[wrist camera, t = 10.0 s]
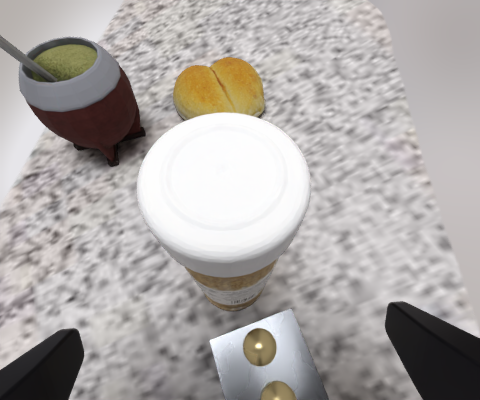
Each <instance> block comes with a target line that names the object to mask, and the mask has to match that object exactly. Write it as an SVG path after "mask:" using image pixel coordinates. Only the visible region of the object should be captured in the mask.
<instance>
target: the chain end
mask: <svg viewBox="0 0 480 400" xmlns="http://www.w3.org/2000/svg"><path fill="white" fill-rule="evenodd" d="M210 344H211V348H212V351H213V355H214V359H215V363H216V367H217V371H218V375H219V378H220V382H221V386H222V390H223V394H224V398H225V400H329V398H328V396H327V393H326V391H325V389H324V386H323V384H322V381H321V379H320V376H319V374H318V372H317V369H316V367H315V364H314V362H313V359H312V357H311V355H310V352H309V350H308V347H307V345H306V342H305V340H304V338H303V335H302V333H301V330H300V328H299V325H298V323H297V321H296V318H295V316H294V313H293V311H292V308H290V309H288V310H285V311H283V312H280V313H278V314H275V315H273V316H270V317H267V318H265V319H262V320H260V321H257V322H255V323H252V324H250V325H247V326H245V327H242V328H240V329H237V330H234V331H232V332H229V333H227V334H224V335H222V336H219V337H217V338H214V339H212V340H210Z"/></svg>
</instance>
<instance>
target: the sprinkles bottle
mask: <svg viewBox="0 0 480 400" xmlns="http://www.w3.org/2000/svg"><path fill="white" fill-rule="evenodd" d="M310 195H311V178H310V172H309V168H308V165H307V162H306V160H305V158H304V156H303V154H302V152H301V150H300V149H299V147H298V146H297V145H296V143H295V142H294V141H293V140H292V139H291V138H290V137H289V136H288V135H287V134H286V133H285V132H283V131H282V130H281V129H279V128H278V127H276V126H275V125H273V124H271V123H269V122H267V121H265V120H262V119H260V118H257V117H254V116H250V115H246V114H239V113H225V112H223V113H212V114H206V115H201V116H198V117H195V118H192V119H189V120H187V121H184V122H182V123H180V124H178V125H176V126H175V127H173V128H172V129H170V130H169V131H167V132H166V133H165V134H163V135H162V136H161V137H160V138H159V139H158V140H157V141H156V143H155V144H154V145H153V146H152V147H151V149H150V150H149V152H148V153H147V155H146V156H145V158H144V160H143V162H142V165H141V167H140V170H139V174H138V178H137V200H138V205H139V209H140V212H141V214H142V217H143V219H144V221H145V223H146V225H147V226H148V228H149V229H150V231H151V232H152V234H153V235H154V236H155V237H156V239H157V240H158V241H159V243H160V244H161V245H162V247H163V248H164V249H165V250H166V251H167V252H168V253H169V254H170V256H171V257H172V258H174V259H175V260H176V261H177V262H179V263H180V264H181V265H183V266H185V268H186V270H187V271H188V273H189V274H190V275H191V276H192V278H193V279H194V280H195V282H196V283H197V284H198V286H199V287H200V288H201V289H202V291H203V292H204V294H205V296H206V297H207V299H208V300H209V301H210V302H211V303H212V304H213V305H215V306H217V307H218V308H220V309H223V310H227V311H238V310H241V309H244V308H246V307H248V306H250V305H251V304H253V303H254V302H255V301H256V299H257V298H258V297H259V296H260V294H261V292H262V289H263V287H264V286H265V284H266V282H267V280H268V278H269V276H270V275H271V273H272V271H273V269H274V267H275V265H276V263H277V261H278V258H279V256H280V255H282V254H283V253H284V251H285V250H286V249H287V248H288V246H289V245H290V243H291V242H292V240H293V238H294V236H295V235H296V233H297V231H298V229H299V227H300V225H301V223H302V220H303V218H304V216H305V214H306V211H307V208H308V205H309V202H310Z"/></svg>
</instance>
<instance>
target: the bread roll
mask: <svg viewBox="0 0 480 400" xmlns="http://www.w3.org/2000/svg"><path fill="white" fill-rule="evenodd" d="M263 96H264V92H263V84H262V81H261V78H260V77H259V74H258V73H257V71H256V70H255V68H253V67H252V66H251V65H250V64H248V63H247V62H246V61H243V60H241V59H237V58H232V57H226V58H223V59H220V60H218V61H217V62H216V63H214V64H213V65H212V66H210V67H207V66H199V65H195V66H191V67H189V68H187V69H185V70H184V71H183V72H182V73H181V74H180V75H179V76H178V78H177V80H176V83H175V87H174V92H173V100H174V104H175V107H176V110H177V112H178V113H179V115H180V116H181V117H182V118H183V119H184V120H185V121H187V120H189V119H192V118H195V117H198V116H201V115H206V114H212V113H223V112H225V113H239V114H246V115H250V116H254V117H258V116H259V115H260V114H261V113H262V112H263V110H264V107H265V101H266V100H265V99H264V97H263Z"/></svg>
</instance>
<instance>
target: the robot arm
mask: <svg viewBox="0 0 480 400" xmlns="http://www.w3.org/2000/svg"><path fill="white" fill-rule="evenodd" d="M385 329H386V332H387V335H388V337H389V338H390V340H391V342H392V344H393V346H394V348H395V350H396V352H397V354H398V355H399V357H400V359H401V361H402V363H403V365H404V367H405V369H406V371H407V372H408V374H409V376H410V378H411V380H412V382H413V383H414V385H415V387H416V389H417V390H418V392H419V394H420V395H421V397H422V398H423V400H480V338H478V337H476V336H474V335H472V334H470V333H467V332H465V331H463V330H461V329H459V328H457V327H455V326H453V325H451V324H449V323H447V322H445V321H443V320H441V319H439V318H437V317H435V316H433V315H431V314H429V313H427V312H425V311H422V310H420V309H418V308H416V307H414V306H412V305H410V304H408V303H406V302H403V301H400V302H391V303H389V304H388V307H387V314H386V320H385ZM83 359H84V349H83V345H82V341H81V338H80V334H79V331H78V330H77V329H75V328H72V329H62V330H59V331H57V332H56V333H54V334H53V335H52V336H50V337H49V338H47V339H46V340H44V341H43V342H41V343H40V344H38V345H37V346H35V347H34V348H32V349H31V350H29V351H28V352H26V353H25V354H23V355H22V356H20V357H19V358H17V359H16V360H14V361H13V362H12V363H10V364H9V365H7V366H6V367H4V368H3V369H1V370H0V400H68V399H69V397H70V394H71V391H72V389H73V386H74V383H75V381H76V378H77V375H78V373H79V370H80V367H81V365H82V362H83Z"/></svg>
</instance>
